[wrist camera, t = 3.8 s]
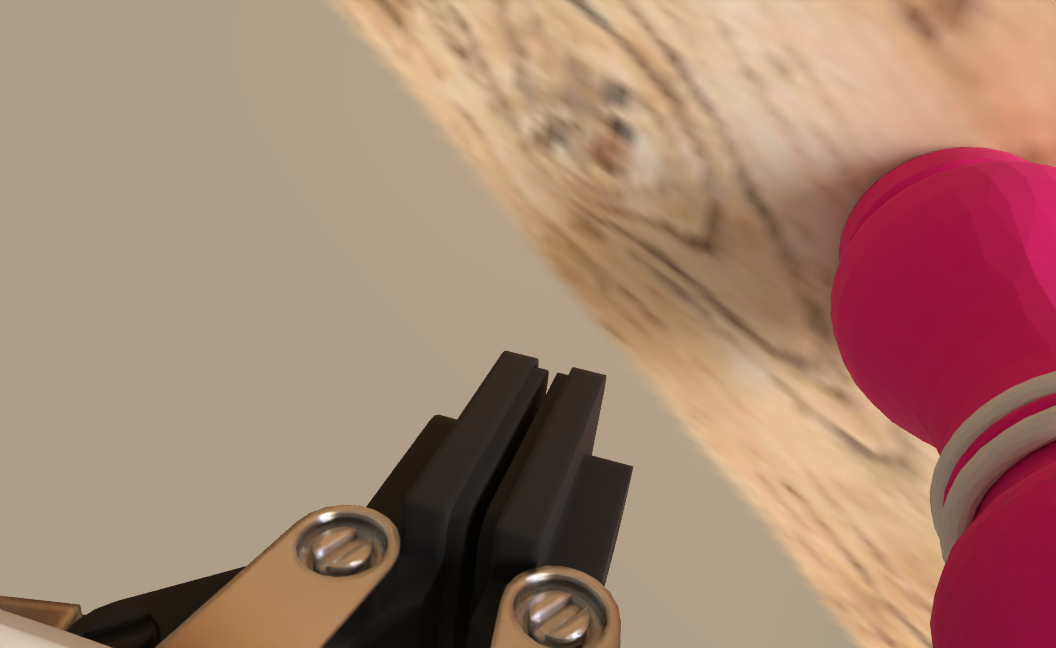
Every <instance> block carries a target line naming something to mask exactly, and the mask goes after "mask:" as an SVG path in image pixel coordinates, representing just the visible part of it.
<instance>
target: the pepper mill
mask: <svg viewBox="0 0 1056 648" xmlns="http://www.w3.org/2000/svg"><path fill="white" fill-rule="evenodd" d="M831 319H832V326H833V332H834V336H835V339H836V342H837V345H838V347H839V350H840V353H841V356H842V359H843V362H844V364H845V366H846V368H847V369H848V371H849V373H850V375H851V377H852V378H853V380H854V382H855V384H856V385H857V386H858V387H859V389H860V390H861V391H862V392H863V393H864V394H865V395H866V397H867V398H868V399H869V400H870V401H871V402H872V403H873V404H874V405H875V406H876V407H877V408H878V409H879V410H880V411H881V412H882V413H883V414H884V415H885V416H886V417H887V418H889V419H890V420H891V421H892V422H893V423H895V424H896V425H898V426H900V427H901V428H903V429H904V430H906V431H908V432H909V433H911V434H912V435H914V436H916V437H917V438H919V439H920V440H922V441H924V442H926V443H928V444H930V445H932V446H934V447H936V449H937V451H938V453H939V455H940V457H939V460H938V462H937V464H936V467H935V469H934V473H933V478H932V483H931V488H930V504H931V512H932V517H933V522H934V527H935V529H936V532H937V534H938V536H939V539H940V544H941V550H942V556H943V559H944V562H945V566H944V569H943V571H942V574H941V577H940V580H939V583H938V586H937V589H936V592H935V596H934V602H933V608H932V614H931V620H930V627H931V635H932V644H933V648H1056V168H1055V167H1052V166H1047V165H1041V164H1035V163H1030V162H1029V161H1027V160H1025V159H1023V158H1020V157H1018V156H1015V155H1013V154H1011V153H1008V152H1003V151H998V150H993V149H988V148H970V147H959V148H951V149H944V150H940V151H935V152H931V153H929V154H926V155H923V156H920V157H917V158H914V159H912V160H910V161H908V162H906V163H904V164H902V165H900V166H898V167H896V168H895V169H893V170H892V171H890V172H888V173H887V174H886V175H884V176H883V177H882V178H881V179H879V180H878V181H877V182H876V183H875V184H874V185H873V186H872V187H871V188H870V189H869V190H868V191H867V192H866V193H865V194H864V195H863V196H862V198H861V199H860V200H859V202H858V203H857V204H856V206H855V207H854V209H853V211H852V213H851V214H850V216H849V218H848V220H847V223H846V225H845V228H844V230H843V234H842V238H841V243H840V251H839V266H838V269H837V272H836V275H835V278H834V283H833V288H832V294H831Z"/></svg>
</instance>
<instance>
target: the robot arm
mask: <svg viewBox="0 0 1056 648" xmlns="http://www.w3.org/2000/svg"><path fill="white" fill-rule="evenodd" d="M548 373H549V372H548V370H545V369H541V368H538V359H537V358H534V357H529V356H525V355H521V354H517V353H513V352H509V351H504V352H503V353H502V354H501V356H500V357H499V359H498V360H497V362H496V363H495V365H494V366H493V368H492V369H491V371H490V372H489V373H488V375H487V376H486V378H485V380H484V381H483V382H482V384H481V385H480V387H479V388H478V390H477V391H476V393H475V394H474V396H473V397H472V399H471V400H470V402H469V403H468V404H467V406H466V407H465V409H464V410H463V412H462V413H461V415H460V416H459V418H458V419H453V418H449V417H446V416H442V415H435V416H434V417H433V418H432V419H431V420H430V421H429V422H428V424H427V425H426V426H425V428H424V429H423V430H422V432H421V433H420V435H419V436H418V437H417V439H416V440H415V441H414V443H413V444H412V445H411V447H410V448H409V450H408V451H407V452H406V454H405V455H404V456H403V458H402V459H401V460H400V462H399V463H398V464H397V466H396V467H395V468H394V470H393V471H392V473H391V474H390V476H389V477H388V478H387V479H386V481H385V482H384V483H383V485H382V486H381V487H380V489H379V490H378V492H377V493H376V494H375V496H374V497H373V498H372V500H371V501H370V502H369V504H368V505H367V507H363V506H356V505H338V506H331V507H325V508H322V509H320V510H317V511H314V512H311V513H309V514H308V515H306V516H305V517H303V518H302V519H300V520H299V521H297V522H296V523H295V524H294V525H292V526H291V527H290V528H289V529H288V530H287V531H286V532H285V533H283V534H282V535H281V536H280V537H279V538H278V539H277V540H276V541H274V542H273V543H272V544H271V545H270V546H269V547H268V548H267V549H266V550H264V551H263V552H262V553H261V554H260V555H259V556H258V557H256V558H255V559H254V560H253V561H252V562H251V563H250V564H249V565H247V566H245V567H241V568H238V569H234V570H230V571H227V572H223V573H219V574H215V575H212V576H209V577H204V578H201V579H197V580H193V581H190V582H186V583H182V584H178V585H175V586H171V587H167V588H164V589H160V590H157V591H152V592H149V593H145V594H142V595H138V596H134V597H130V598H127V599H123V600H119V601H116V602H113V603H110V604H108V605H105V606H103V607H100V608H97V609H95V610H93V611H92V612H90V613H88V614H87V615H82V613H81V607H80V605H78V604H69V603H60V602H51V601H42V600H33V599H24V598H15V597H6V596H0V648H620V631H621V620H620V614H619V609H618V605H617V604H616V602H615V600H614V598H613V597H612V595H611V593H610V592H609V591H608V590H607V589H606V588H605V587H604V586H605V583H606V579H607V575H608V571H609V567H610V563H611V560H612V555H613V552H614V547H615V544H616V540H617V536H618V531H619V527H620V523H621V519H622V515H623V510H624V506H625V502H626V497H627V493H628V488H629V484H630V479H631V474H632V470H633V466H629V465H626V464H622V463H618V462H614V461H611V460H607V459H603V458H599V457H596V456H592V451H593V446H594V440H595V435H596V430H597V425H598V420H599V414H600V409H601V404H602V399H603V394H604V389H605V382H606V375H603V374H599V373H594V372H591V371H587V370H583V369H578V368H574V367H573V368H572V369H571V371H570V373H569V375H565V374H562V373H557V375H556V376H555V378H554V380H553V382H552V384H551V386H550V388H549V390H548V392H547V394H546V390H547V383H548Z"/></svg>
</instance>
